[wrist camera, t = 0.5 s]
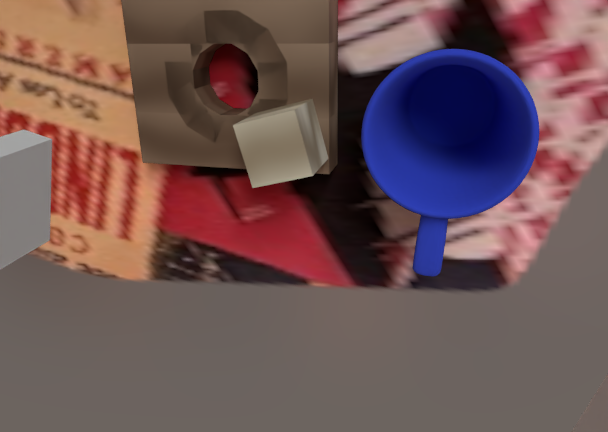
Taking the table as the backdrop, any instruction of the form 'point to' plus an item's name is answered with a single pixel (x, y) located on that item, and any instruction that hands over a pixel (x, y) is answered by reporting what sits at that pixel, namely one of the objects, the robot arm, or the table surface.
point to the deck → (196, 81)
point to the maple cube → (281, 144)
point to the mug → (449, 141)
